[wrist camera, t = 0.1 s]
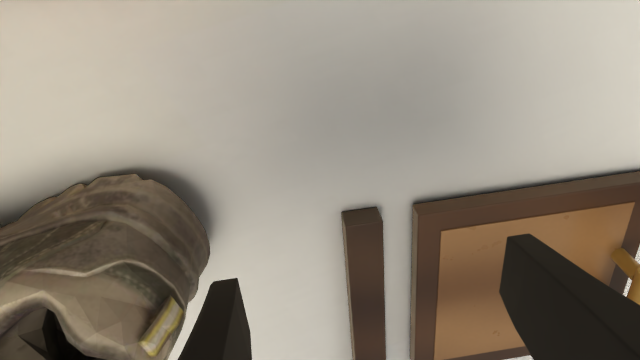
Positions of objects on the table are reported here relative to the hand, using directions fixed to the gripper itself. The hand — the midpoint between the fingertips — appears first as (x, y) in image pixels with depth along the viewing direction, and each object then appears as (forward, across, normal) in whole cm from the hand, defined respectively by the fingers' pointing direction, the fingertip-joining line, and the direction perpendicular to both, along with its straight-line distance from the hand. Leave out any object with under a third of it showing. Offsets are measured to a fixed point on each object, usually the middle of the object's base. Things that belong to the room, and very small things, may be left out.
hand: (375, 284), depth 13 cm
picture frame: (+10, -10, +11) cm, 18 cm away
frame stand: (+10, -1, +11) cm, 15 cm away
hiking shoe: (+10, +16, +6) cm, 20 cm away
